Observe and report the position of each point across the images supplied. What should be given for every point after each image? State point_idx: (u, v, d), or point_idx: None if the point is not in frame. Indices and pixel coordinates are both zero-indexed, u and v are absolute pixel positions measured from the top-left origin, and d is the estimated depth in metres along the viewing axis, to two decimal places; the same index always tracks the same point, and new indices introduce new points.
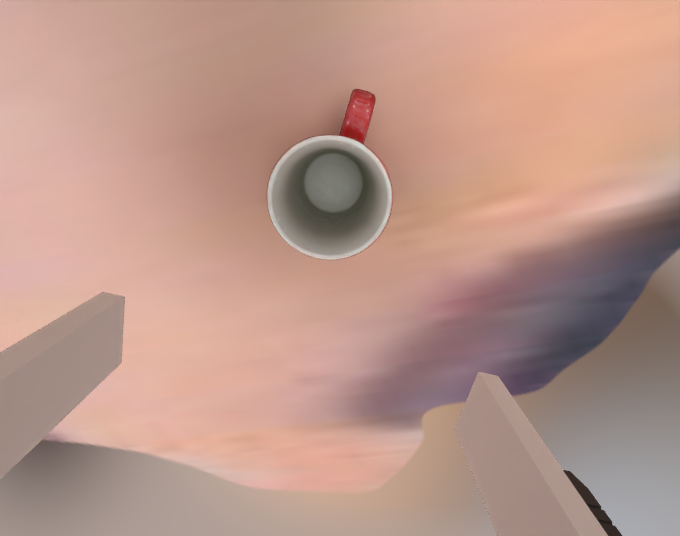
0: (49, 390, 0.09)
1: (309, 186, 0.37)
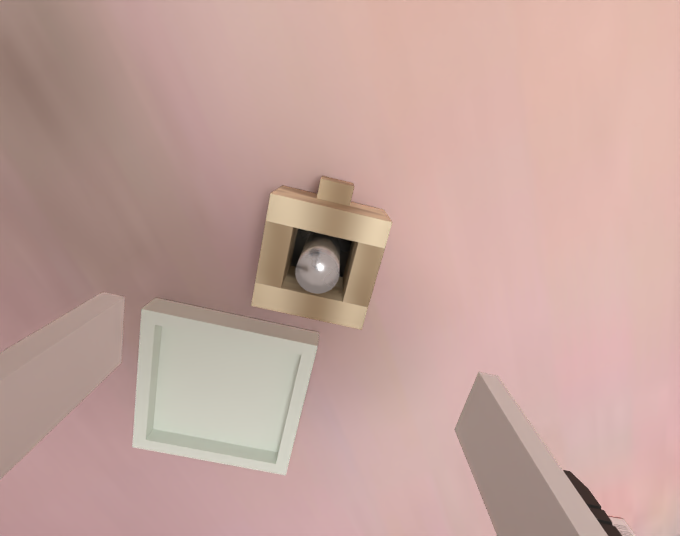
0: (49, 390, 0.09)
1: None
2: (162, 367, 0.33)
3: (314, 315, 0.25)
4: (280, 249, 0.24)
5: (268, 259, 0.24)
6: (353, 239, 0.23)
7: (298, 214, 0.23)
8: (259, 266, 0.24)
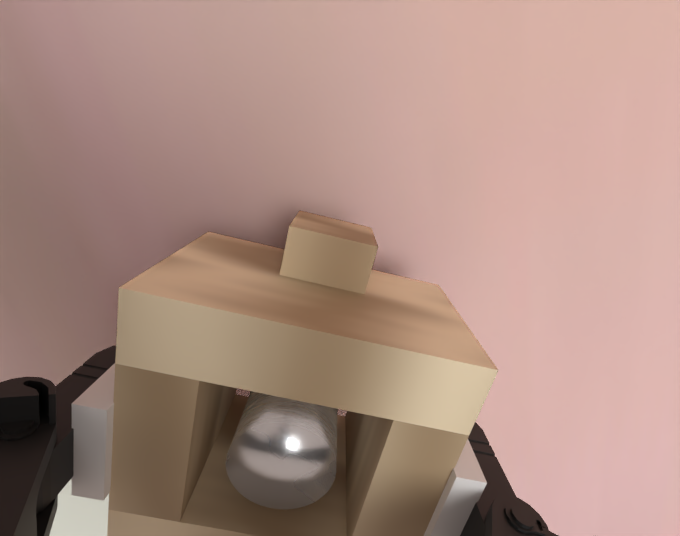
0: None
1: None
2: None
3: None
4: (168, 436, 0.08)
5: (136, 458, 0.08)
6: (379, 412, 0.08)
7: (211, 348, 0.07)
8: (114, 474, 0.09)
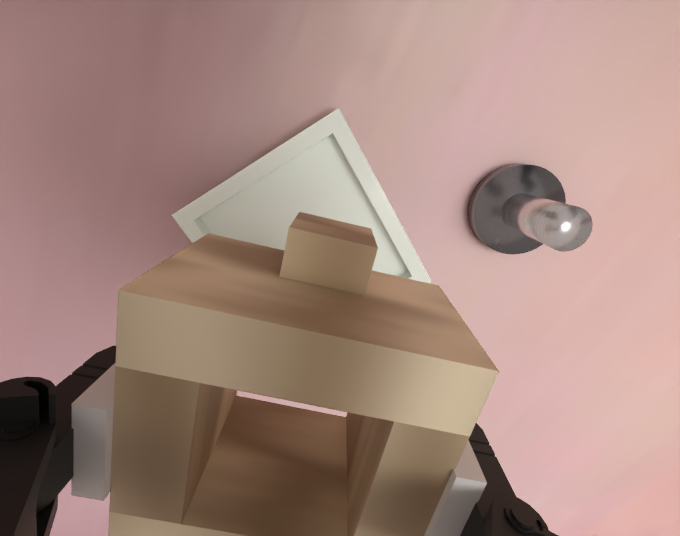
0: None
1: None
2: (277, 174, 0.28)
3: None
4: (169, 438, 0.08)
5: (137, 461, 0.08)
6: (379, 414, 0.08)
7: (211, 350, 0.07)
8: (115, 477, 0.09)
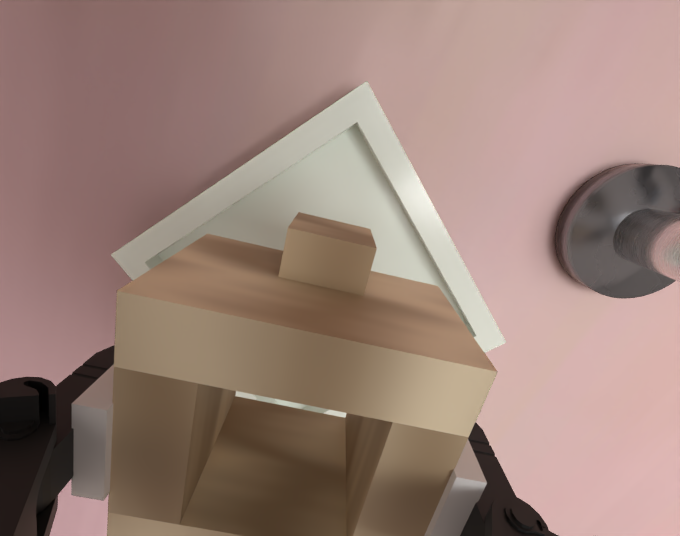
0: None
1: None
2: (271, 188, 0.18)
3: None
4: (167, 438, 0.08)
5: (135, 461, 0.08)
6: (378, 414, 0.08)
7: (210, 351, 0.07)
8: (113, 477, 0.09)
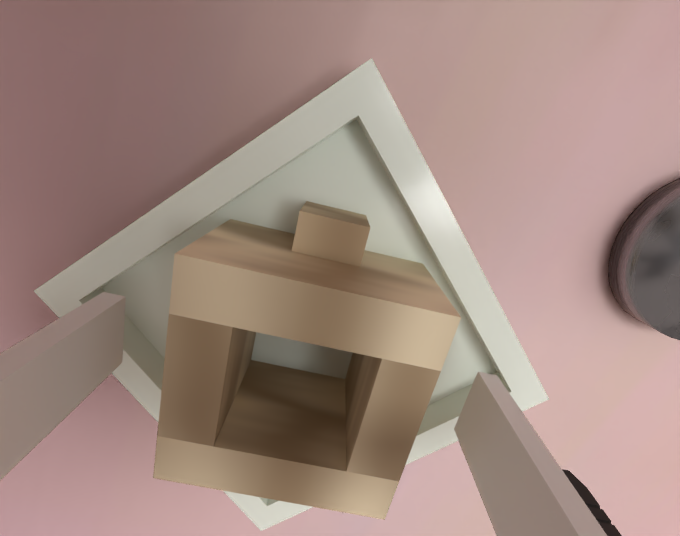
0: (50, 390, 0.10)
1: None
2: (246, 202, 0.14)
3: (287, 494, 0.12)
4: (207, 372, 0.11)
5: (181, 392, 0.11)
6: (370, 352, 0.10)
7: (243, 300, 0.10)
8: (163, 405, 0.11)
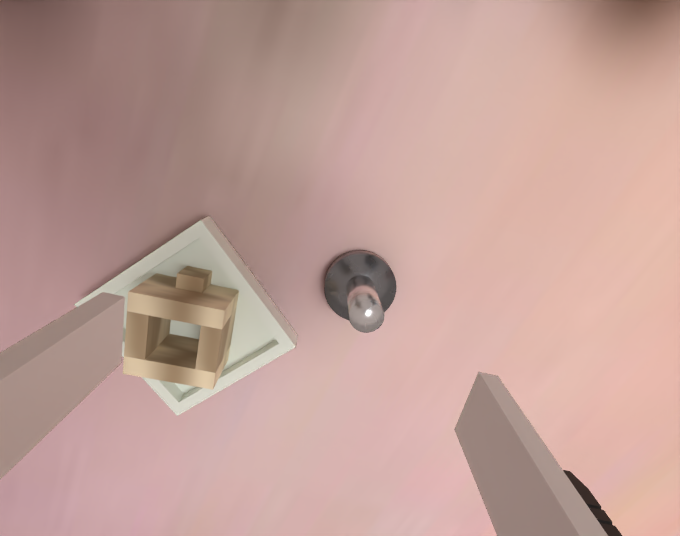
0: (49, 390, 0.09)
1: None
2: (162, 266, 0.34)
3: (174, 379, 0.32)
4: (140, 331, 0.31)
5: (132, 339, 0.31)
6: (196, 323, 0.31)
7: (151, 306, 0.30)
8: (126, 344, 0.31)
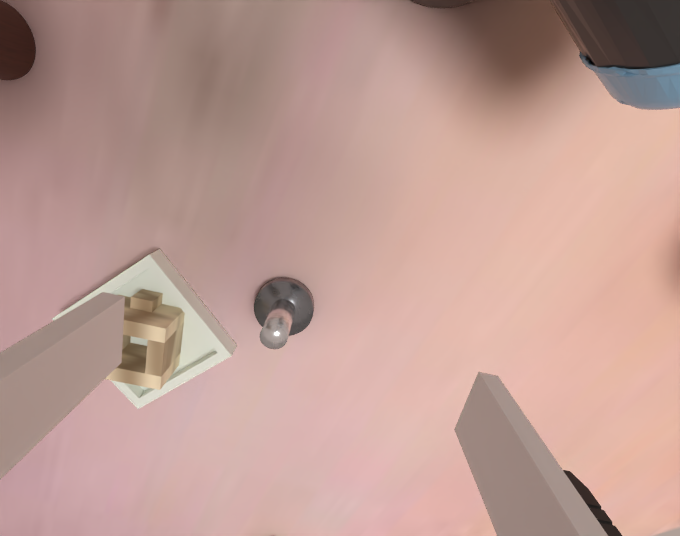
0: (49, 390, 0.09)
1: None
2: (122, 289, 0.42)
3: (128, 381, 0.40)
4: None
5: None
6: (144, 338, 0.39)
7: None
8: None
